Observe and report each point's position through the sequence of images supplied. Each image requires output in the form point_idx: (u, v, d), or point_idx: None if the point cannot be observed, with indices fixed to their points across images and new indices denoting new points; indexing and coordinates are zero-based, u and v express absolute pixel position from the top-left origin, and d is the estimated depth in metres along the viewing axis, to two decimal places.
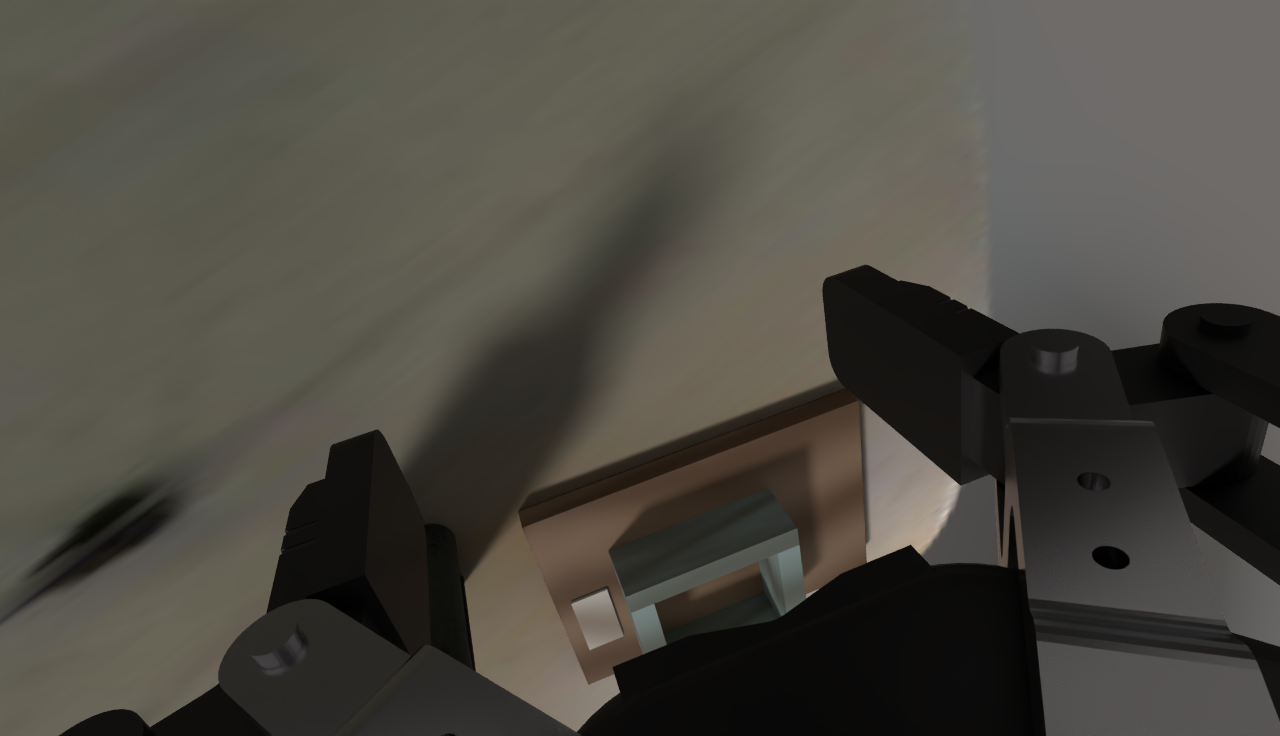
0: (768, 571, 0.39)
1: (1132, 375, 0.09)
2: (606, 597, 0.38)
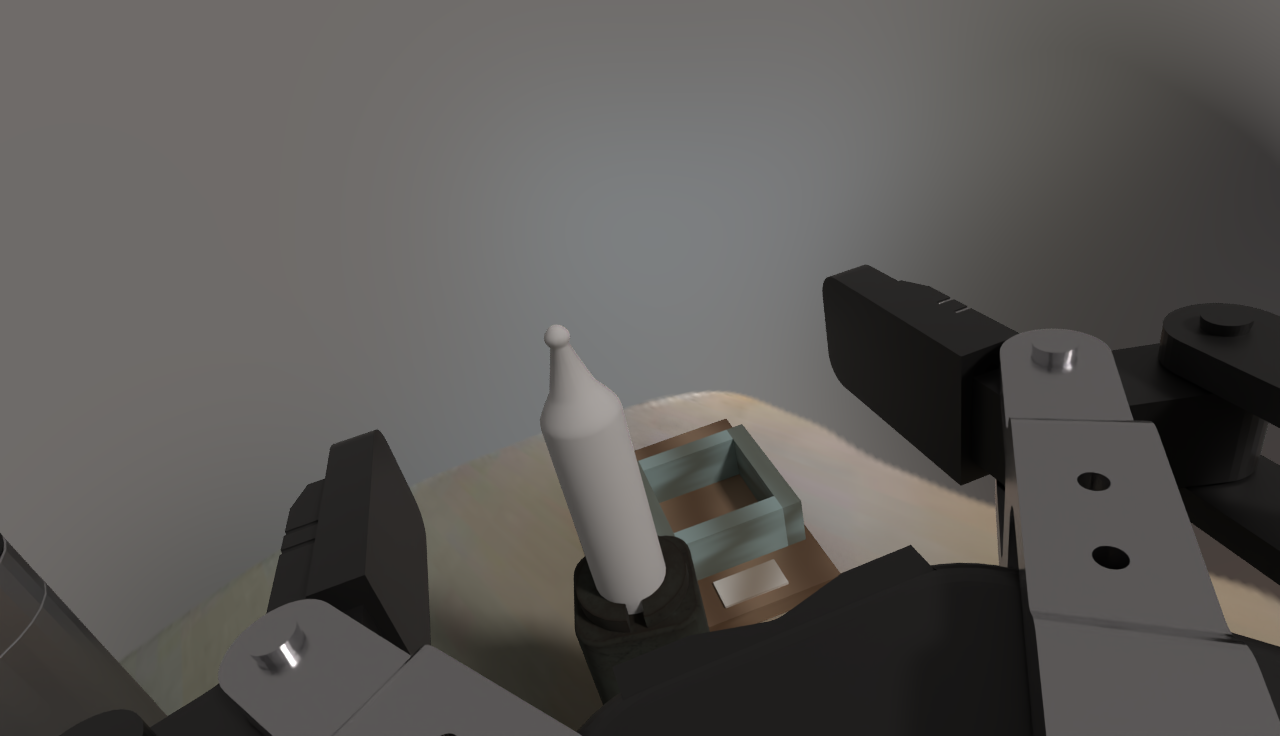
0: (692, 474, 0.50)
1: (1132, 375, 0.09)
2: (722, 581, 0.43)
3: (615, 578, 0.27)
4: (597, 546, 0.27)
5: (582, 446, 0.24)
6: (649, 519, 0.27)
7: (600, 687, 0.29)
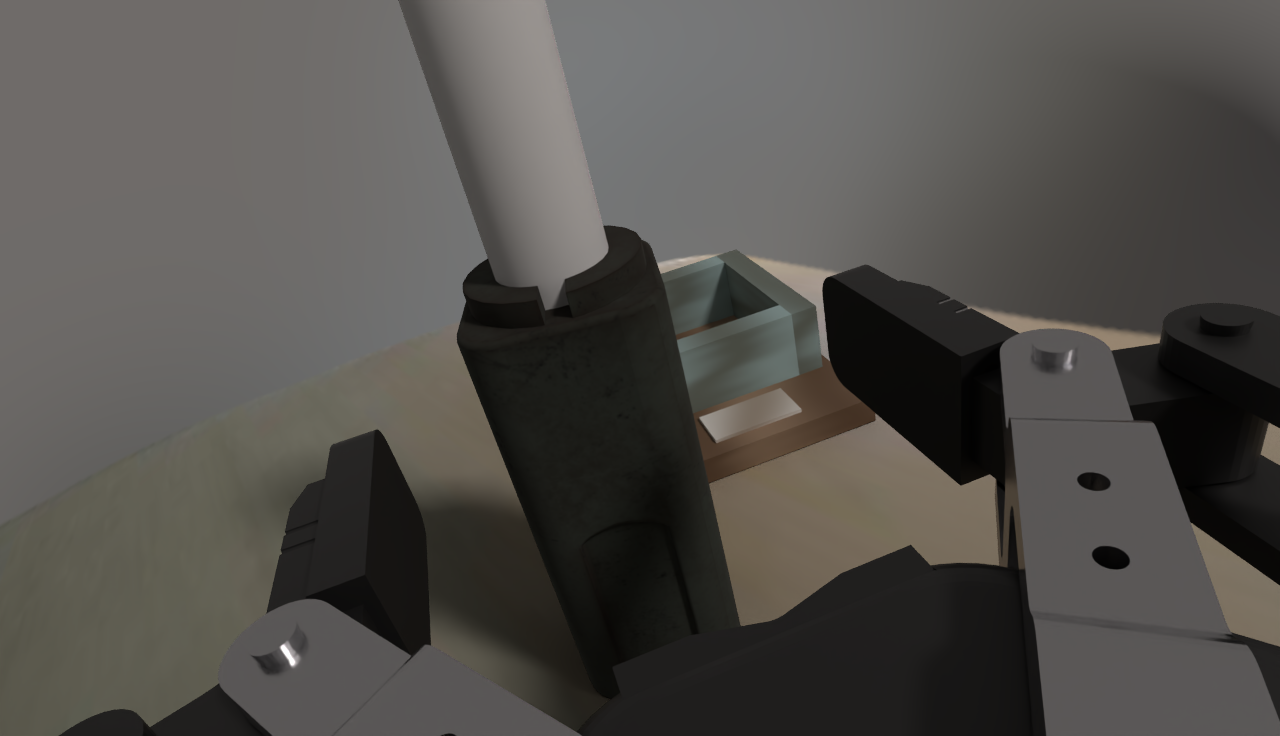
0: (673, 311, 0.39)
1: (1132, 375, 0.09)
2: (711, 415, 0.32)
3: (516, 229, 0.16)
4: (480, 156, 0.15)
5: None
6: (573, 127, 0.16)
7: (504, 445, 0.18)
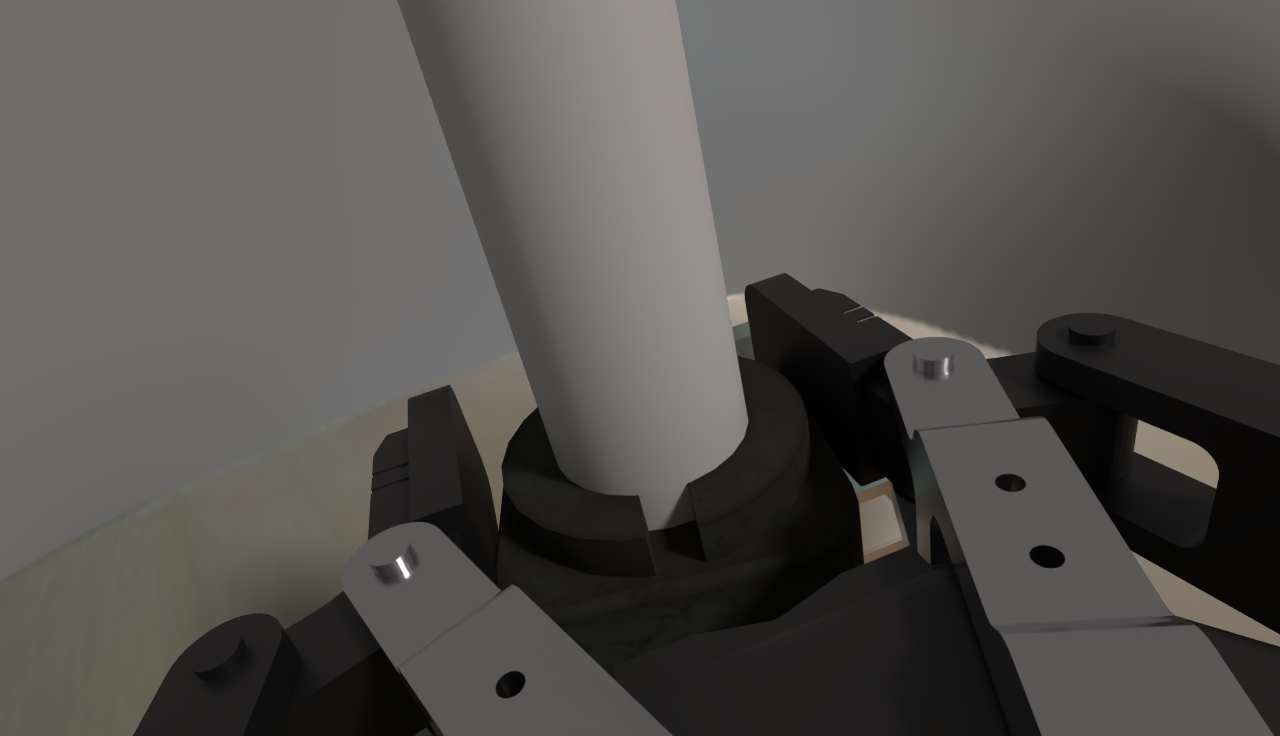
0: None
1: (1009, 382, 0.09)
2: None
3: (606, 410, 0.09)
4: (547, 286, 0.08)
5: None
6: (711, 224, 0.09)
7: None
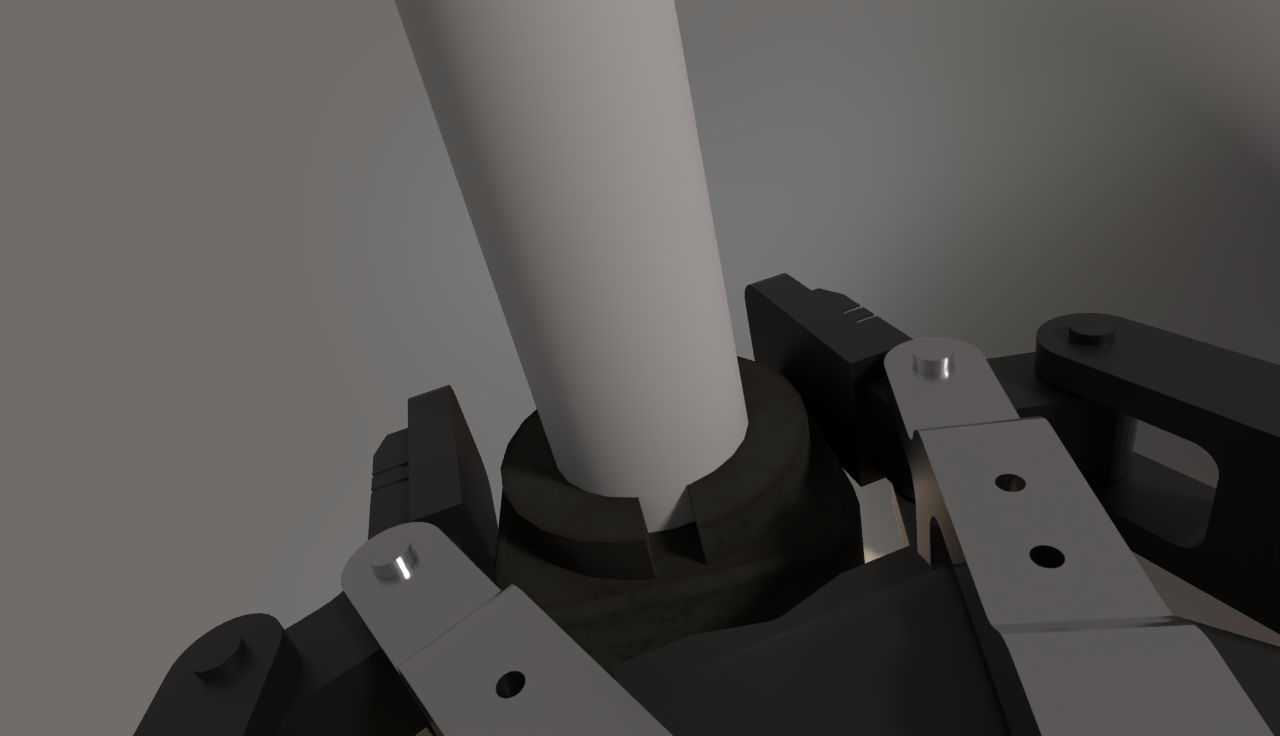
0: None
1: (1009, 382, 0.09)
2: None
3: (606, 410, 0.09)
4: (546, 287, 0.08)
5: None
6: (710, 225, 0.09)
7: None
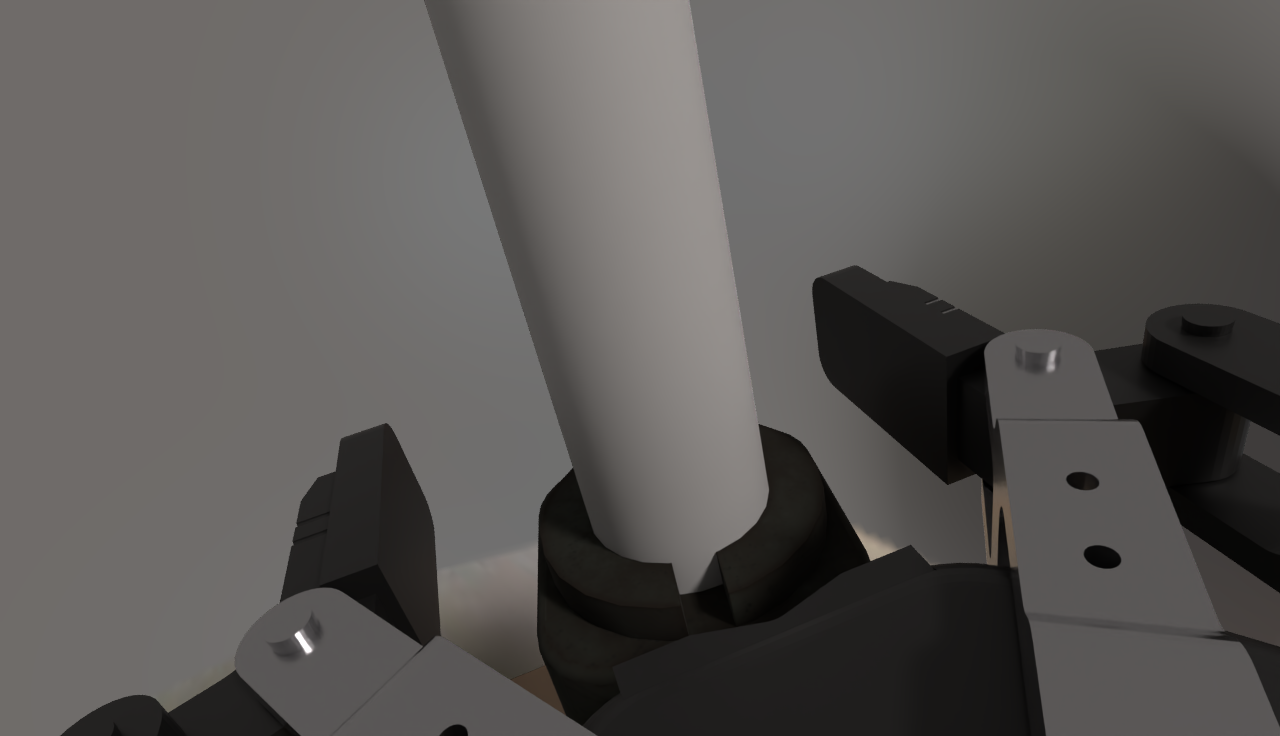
0: None
1: (1115, 375, 0.09)
2: None
3: (645, 487, 0.10)
4: (596, 380, 0.09)
5: None
6: (738, 319, 0.10)
7: None
